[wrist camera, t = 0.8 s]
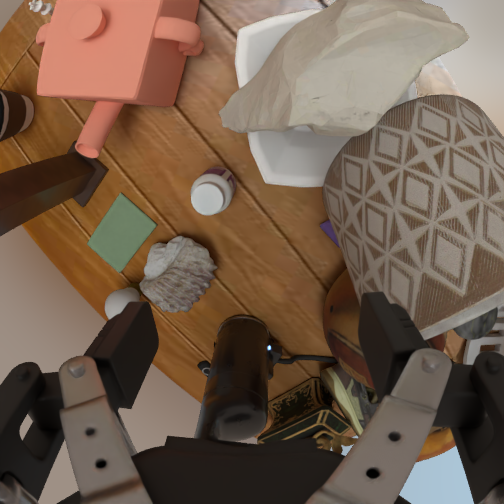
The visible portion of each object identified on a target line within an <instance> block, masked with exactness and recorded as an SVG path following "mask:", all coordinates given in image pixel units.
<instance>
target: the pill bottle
mask: <svg viewBox="0 0 504 504" xmlns="http://www.w3.org/2000/svg"><path fill="white" fill-rule="evenodd" d="M235 189H236V180H235V178H234V176H233V174H232V173H231V172H230V171H229V170H228V169H226V168H223V167H213V168H210V169H208V170H207V171H205V172H204V173H203V174H202V175H201V176H200V177H199V178H198V179H196V181H195V182H194V183H193V186H192V188H191V202H192V205H193V207H194V209H195V210H196V211H197V212H199V213H200V214H203V215H213V214H217V213H220V212H222V211H223V210H225V209H226V208H227V207H228V205H229V204H230V201H231V199H232V197H233V195H234V192H235Z"/></svg>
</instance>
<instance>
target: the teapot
mask: <svg viewBox="0 0 504 504" xmlns="http://www.w3.org/2000/svg"><path fill="white" fill-rule="evenodd" d="M198 7H199V0H57V2H56V5H55V8H54V11H53V14H52V17H51V21H50V23H47V24H44V25H42V26H41V27H40V29H39V30H38V33H37V36H36V43H37V44H38V45H39V46H44V48H43V53H42V58H41V63H40V69H39V75H38V83H37V95H39V96H46V97H55V98H63V99H76V100H90V101H97V102H96V104H95V106H94V107H93V109H92V111H91V113H90V115H89V117H88V119H87V121H86V123H85V125H84V128H83V130H82V132H81V134H80V136H79V138H78V140H77V143H76V145H75V149H76V150H77V151H78V152H79V153H80V154H82V155H83V156H86V157H89V158H97V157H98V156H99V154H100V152H101V149H102V147H103V145H104V143H105V141H106V139H107V137H108V135H109V132H110V130H111V128H112V126H113V124H114V122H115V120H116V118H117V116H118V114H119V112H120V111H121V109H122V107H123V105H124V103H126V104H138V105H149V106H160V107H170V106H173V104H174V102H175V99H176V96H177V92H178V88H179V84H180V80H181V77H182V73H183V69H184V65H185V61H186V58H187V55H189V56H197V55H199V54H200V53H201V52H202V50H203V47H204V43H203V41H201V40H199V39H200V35H201V30H200V27H199V26H198V25H197V24H195V20H196V16H197V11H198Z"/></svg>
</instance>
